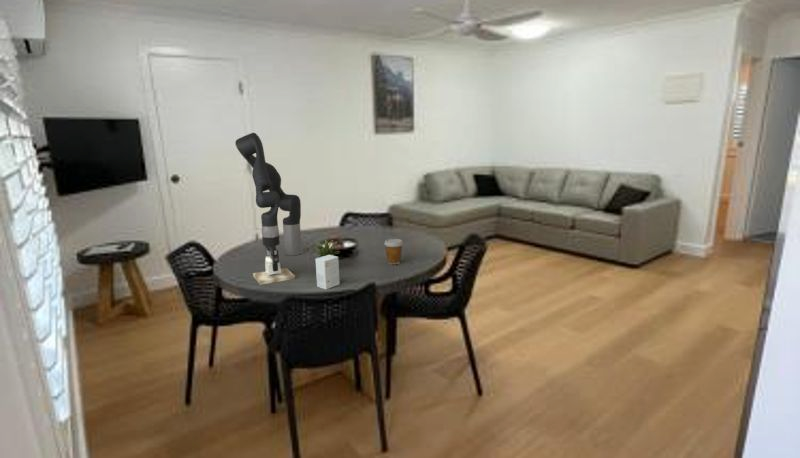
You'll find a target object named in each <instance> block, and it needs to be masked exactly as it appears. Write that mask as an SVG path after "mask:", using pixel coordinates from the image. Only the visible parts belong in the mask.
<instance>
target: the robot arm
mask: <svg viewBox="0 0 800 458" xmlns="http://www.w3.org/2000/svg"><path fill="white" fill-rule="evenodd" d="M262 142H263V141H262V139H261V138H260V136H259V135H258V134H257V133H256V132H251V133H248V134H246V135H243V136H242V137H239V138H237V139H235V146H236V148H237V150H238V152H239V153H240V155H241V156H242V157H243V158H244V160H246V161H247V163H248V164H249V166H251V168H252V171H251V172H252V173H251V174H252V175H251V177H252V179H253V182H254V187H255V204H256V206H257V207H259V208H260V209H265V208H266V209H267V208H270V209H269V210H268V211H265V212H262V214H261V215H260V216H261V217H260V219H261V237H262V238H261V239H262V246H264V247H265V257H267V256H270V259H271V260H272V265H273V271H278V263H279V262H280V258H279V250H278V249H277V247H278V246H279V245H280V244H281V243H280V242H281V241H280V230H279V224H278V223H279V221H278V213H279V209H280V211H284V212H289V214H288V216H286V217H283V219H282V228H283V229H282V230H283V231H282V232H283V243H284V244H283V246H284V254H285V255H286V256H297V255H298V256H299V255H301V254H303V253H304V247H303V237H302V235H301V232H302V231H301V219H302V218H301V217H302V214H301V213H302V212H301V211H302V209H301V206H302V203H301V199H300V196H299V195H297V194H287V193H285V192H284V190H283V188H282V187H281V186H282V185H281V184H282V176H281V175H280V173H279V172H278V170H277V169H276V167H275V166H274V165H272V164H271V163H269V162H266V157H265V151H264V144H263V143H262ZM274 259H276V260H274Z"/></svg>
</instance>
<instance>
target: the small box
mask: <svg viewBox="0 0 800 458" xmlns="http://www.w3.org/2000/svg"><path fill="white" fill-rule="evenodd" d="M339 263H340V262H339V256H336V255H334V254H333V255H326V256H323V257H322V256H320V257H316V258H315V272H316V274H315V275H316V286H317V288H321V289H324V290H328V289H330V288H334V287H337V286H340V268H339V266H340V265H339Z"/></svg>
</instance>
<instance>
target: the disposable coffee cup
mask: <svg viewBox="0 0 800 458" xmlns="http://www.w3.org/2000/svg"><path fill="white" fill-rule="evenodd" d="M383 244H384V247H385V252H386V259H387V263H388V262H389V263H397V262H400V263H401V257H402V248H403V244H404V242H403V240H402V239H399V238H389V239H385V241H384V243H383Z"/></svg>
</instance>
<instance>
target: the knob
mask: <svg viewBox="0 0 800 458" xmlns="http://www.w3.org/2000/svg"><path fill="white" fill-rule="evenodd" d="M274 260H276V259H274ZM264 266H265V271H266V273H267V274H268V275H272V274H278V273H281V269H282V268H281V262H280V261H279V263H278V271H273V265H272V260H271V259H270V256H265V261H264Z"/></svg>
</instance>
